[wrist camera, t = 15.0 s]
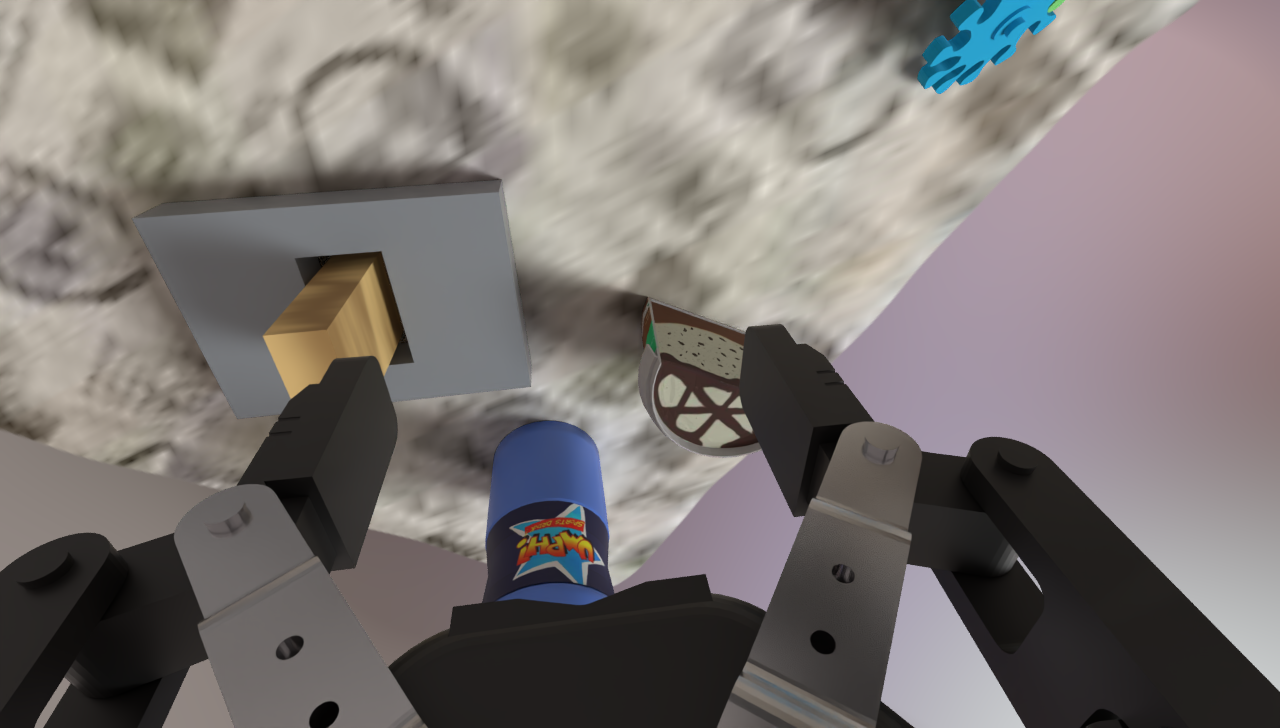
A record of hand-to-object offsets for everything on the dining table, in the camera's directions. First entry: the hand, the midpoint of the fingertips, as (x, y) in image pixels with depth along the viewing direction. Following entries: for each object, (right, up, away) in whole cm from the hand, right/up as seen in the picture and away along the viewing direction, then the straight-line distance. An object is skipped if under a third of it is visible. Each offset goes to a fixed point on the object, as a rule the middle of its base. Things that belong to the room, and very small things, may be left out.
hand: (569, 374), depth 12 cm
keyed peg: (-17, +5, +26) cm, 31 cm away
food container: (+5, +2, +32) cm, 33 cm away
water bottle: (-7, -8, +36) cm, 38 cm away
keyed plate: (-17, +5, +26) cm, 31 cm away
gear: (+22, +22, +22) cm, 39 cm away
